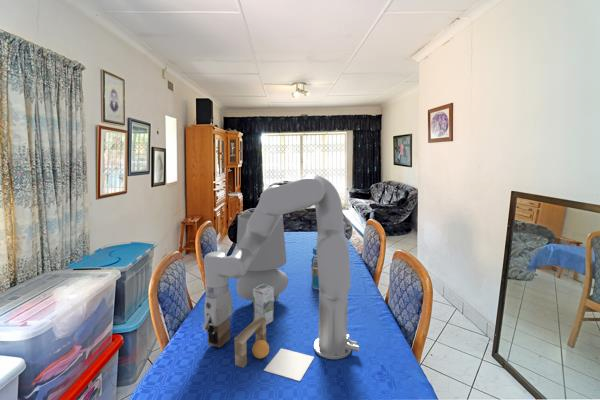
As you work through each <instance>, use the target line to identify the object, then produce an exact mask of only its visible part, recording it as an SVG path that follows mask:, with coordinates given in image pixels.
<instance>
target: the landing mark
mask: <svg viewBox="0 0 600 400" xmlns="http://www.w3.org/2000/svg"><path fill="white" fill-rule="evenodd" d="M314 359H315V356H313V355H308V354H305V353H301V352H299V351H298V352H297V351H294V350H289V349H286V348H282V347H281V348H280V349H279V351H277V353H276V354H275V355H274V356H273V358H272V359H271V360H270V362H269V363H268V364H267V365H266V367H265V368H264V369H263V372H267V373H271V374H274V375H278V376H280V377H284V378H287V379H291V380H294V381H297V382H301V380H302V379H303V377H304V375H306V372H307V371H308V369H309V367H310V365H312V362H313V360H314Z"/></svg>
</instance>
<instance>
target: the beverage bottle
mask: <svg viewBox="0 0 600 400" xmlns="http://www.w3.org/2000/svg"><path fill="white" fill-rule="evenodd" d="M316 246H317V245H315V246H313V247H312V254H313V256H312V257H311V260H310V262H311V264H310V268H311V282H310V283H311V287H312V289H315V290H319V278H318V264H317V250H316Z"/></svg>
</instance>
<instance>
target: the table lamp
mask: <svg viewBox="0 0 600 400" xmlns="http://www.w3.org/2000/svg"><path fill="white" fill-rule="evenodd" d="M253 212H254V211H249V212H244V213H242V214H241V213H240V214H239V215H238V216H237V229H236V230H237V231H236V232H237V234H236V247H237V246H238V245H239V243H240V241H241V240H242V238H243V236H244V234H245V232H246V225H247V222H248V220H249V219H250V217H251V215H252V214H253ZM285 238H286V237H285V228H284V214H282V216H281V218H280V219H279V221H278V223H277V224H276V226H275V228H274V229H273V231H272V233H271V235H270V236H269V238H268V239H267V240H266V241H265V242H264V244H263V245H262V247H261V249H260V250H259V252H258V254H257V255H256V257H255V259H254V261H253V262H252V264H251V266H250V267H249V269H248V271H247V272H246V274H245V275H244V276H243V277H241V278H238V279H237V281H236V293H237V295H238V296H239V297H240V298H242V299H243V300H247V301H251V302H252V303H253V288H255V287H257V286H259V285H262V284H267V285H269V286H271V287H273V288H274V302H278V301H279V297H280V295H281V294H282V293H283V292H285V290H286V289H287V287H288V284H289V277H288V274H286V273H285V272H283V271H282V270H280V269H279V268H281V267H283V266H285V265H286V264H287V262H288V261H287V251H286V241H285Z"/></svg>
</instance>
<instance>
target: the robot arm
mask: <svg viewBox="0 0 600 400" xmlns="http://www.w3.org/2000/svg"><path fill="white" fill-rule="evenodd" d="M313 206H314V207H315V217H316V219H315V220H316V228H317V230H316V231H317V236H316V237H317V238H316V245H315V246H316V250H317V264H318V278H319V289H318V338H317V339H315V341H314V344H313V349H314V351H315V352H316V354H317V355H318V356H319V357H321V358H324V359H327V360H328V359H329V360H341V359H344V358H346V357H348V356H349V355H350V353H351V351H354V352H356V353H357V352H359V353H360V345H358V341H356V340H351V339H350V334H348V308H349V307H348V306H349V305H348V303H349V299H348V298H349V291H350V289H351V285H352V284H351V282H352V280H351V264H350V260H351V259H350V249H349V244H348V240H347V237H346V232H345V223H344V213H343V204H342V201H341V197H340V194H339V192H338V190H337V188H336V187H335V186H334V184H332V182H330V181H329V180H328V179H326V178H325V177H323V176H321V175H318V174H315V173H313V174H312V173H308V174H306V175H304V176H303V177H302V178H300V179H297V180H294V181H292V182H288V183H285V184H281V185H279V184H274V185H270V186H268V187H267V188H266V189H264V191H262V193H261V194H260V197H259V201H258V204H257V205H256V207H255V209H254V211H252V212H253V214H252V215H251V217H250V219H249V220H248V222H247V225H246V232H245V234H244V236H243V238H242V240H241V241H240V243H239V245H238V246H237V245H236V249H235V250H234V251H233V252H232V253H231V255H228V256H227V254H226V253H225V252H224V251H212V252H208V253H207V254H206V255H204V259H203V267H204V285H205V298H204V310H203V311H204V322H203V325H202V327H201V329H202V330H204V331H205V332H207V333H208V334H209V343H213V344H217V343H218V341H217V333H216V328H217V326H219V325H220V324H221V323H223V322H224V321H225V320H226V319H228V318H229V317H230V318H231V316H232V315H233V313H234V312H233V311H234V310H233V309H234V307H233V300H232V299H233V298H232V294H231V290H230V288H229V278H230V279H237V280H238V279H239V278H241V277H243V276H244V275H245V274H246V272H247V271H248V269H249V267H250V266H251V264H252V262H253V261H254V259H255V257H256V255H257V254H258V252H259V250H260V249H261V247H262V245H263V244H264V242H265V241H266V240H267V239H268V238H269V236H270V235H271V233H272V231H273V229H274V228H275V226H276V224H277V223H278V221H279V219H280V218H281V216H282V215H284V214H285V215H286V214H289V213H293V212H296V211H300V210H304V209H306V208H311V207H313ZM211 325H212V326H213V329H211Z"/></svg>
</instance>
